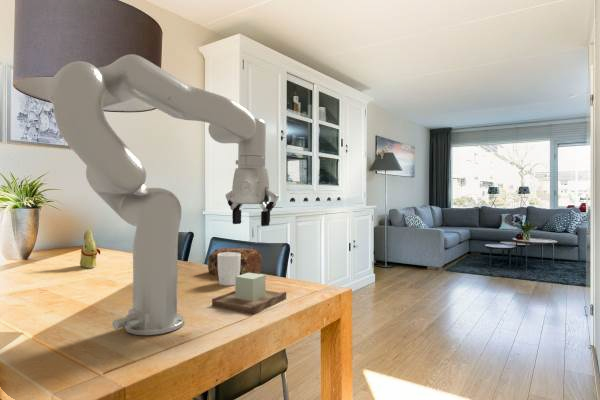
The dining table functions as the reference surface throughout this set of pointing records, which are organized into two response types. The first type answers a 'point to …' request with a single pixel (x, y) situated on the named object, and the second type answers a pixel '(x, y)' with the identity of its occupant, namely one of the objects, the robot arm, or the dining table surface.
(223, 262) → the white cup
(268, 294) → the board
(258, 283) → the sage block
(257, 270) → the bread
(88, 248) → the asparagus bundle
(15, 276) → the dining table surface
